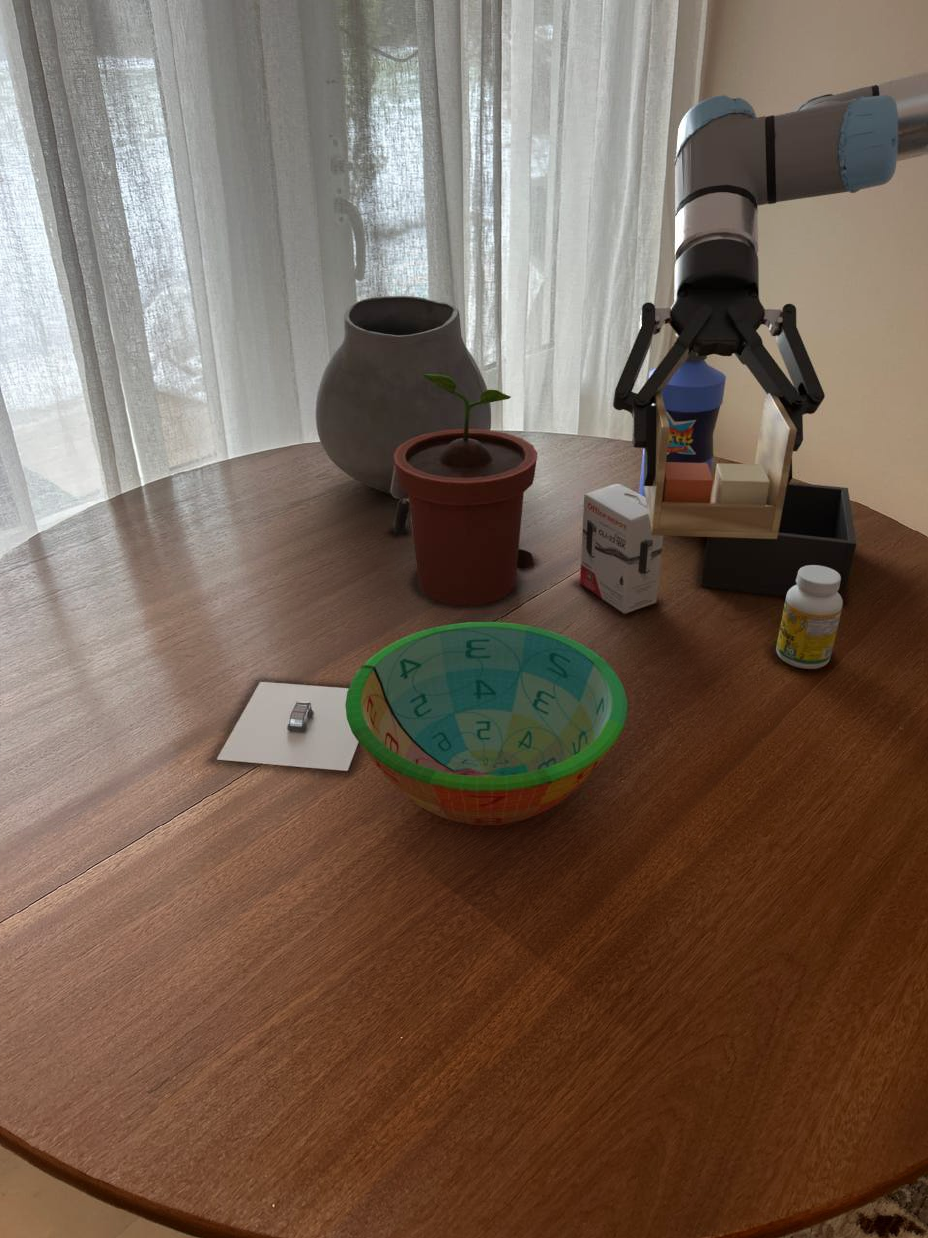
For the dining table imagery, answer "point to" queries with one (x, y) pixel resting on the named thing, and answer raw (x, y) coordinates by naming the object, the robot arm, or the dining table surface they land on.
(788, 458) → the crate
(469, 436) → the potted plant
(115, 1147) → the dining table surface
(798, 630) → the supplement bottle
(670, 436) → the water bottle
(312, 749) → the white square sheet
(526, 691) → the bowl
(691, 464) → the terracotta block
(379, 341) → the ceramic pot
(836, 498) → the basket
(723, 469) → the cream block
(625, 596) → the ink box
